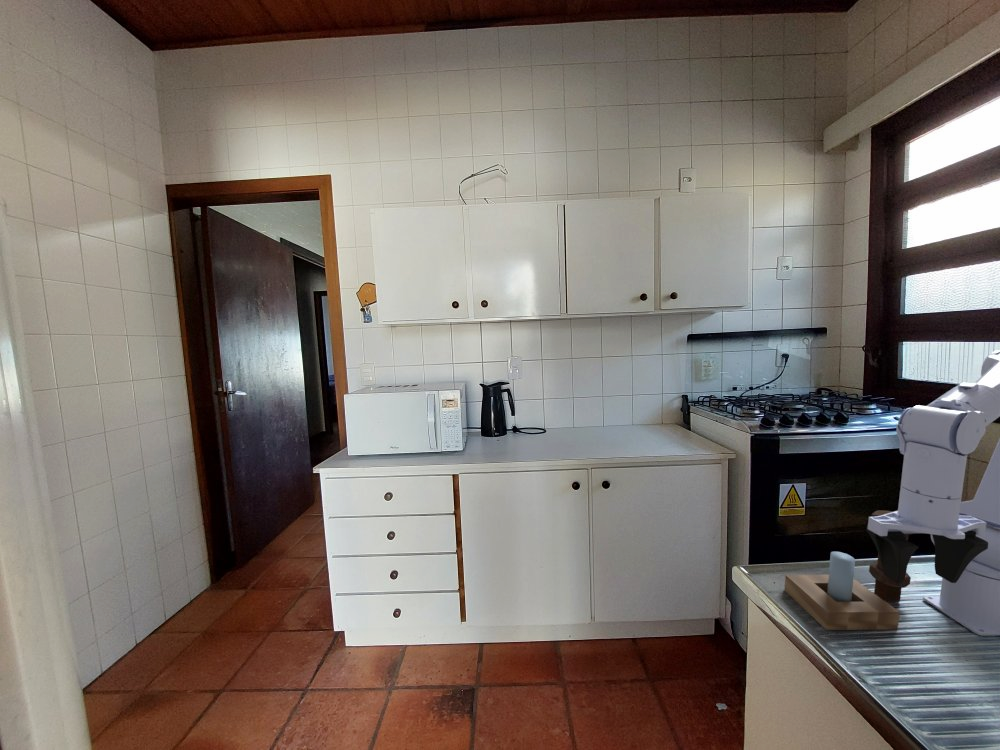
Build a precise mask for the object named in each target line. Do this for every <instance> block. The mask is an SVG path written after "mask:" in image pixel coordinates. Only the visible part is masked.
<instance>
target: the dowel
mask: <svg viewBox="0 0 1000 750" xmlns="http://www.w3.org/2000/svg"><path fill="white" fill-rule="evenodd" d="M829 556H830V557H829V558H830V559H829V568H828V575H829V578H828V590H827V594H828V595H829V596H830V597H831V598H833V599H834V600H835V601H836V602H851V599H852V588H853V579H855V578H854V575H855V567H856V566H855V565H856V559H855V558H854V557H853V556H851V555H850V554H848V553H846V552H845V553H844V552H841V551H831V552H830V555H829Z"/></svg>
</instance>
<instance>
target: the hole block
mask: <svg viewBox="0 0 1000 750" xmlns="http://www.w3.org/2000/svg"><path fill="white" fill-rule="evenodd" d="M784 578H785V579H784V589H783V591H785V593H787V594H788V595H789V596H790V597H791V598H792V599H793V600H794V601H795V602H796V603H798V605H799V606H800V607H802V609H804V610H805V611H806V612H807V613H808V614H809V615H810V616H811V617H812V618H814V620H815V621H817V623H819V625H821V627H823V628H824V629H825V630H828V631H830V630H831V631H832V630H834V631H835V630H838V631H839V630H840V631H843V630H847V631H848V630H853V631H854V630H898V629H899V627H898V626H899V623H900V621H899V619H900V610H898V609H896V608H895V607H894V606H892V605H890V604H889V602H886V601H884V600H882V599H881V598H880V597H878V596H877V595H876V594H874V591H871V590H870V589H869V588H867V587H866V586H865V585H863V584H862V583H860V582H859V581H858V580H856V579H855V578H853V588H852V599H851V602H836V601H835V600H834V599H833V598H831V597H830V596H829V595H828V594H827V590H828V578H829V574H785V577H784Z"/></svg>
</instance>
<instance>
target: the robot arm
mask: <svg viewBox="0 0 1000 750" xmlns="http://www.w3.org/2000/svg"><path fill="white" fill-rule="evenodd" d="M999 418H1000V350H998V349H997V350H994V351H992V352H991V353H990V354H988V355H987V356H986V357H985V358H984V361H982V366H981V371H980V377H979V378H978V379H977V380H976V381H975V382H971V383H970V382H961V383H960V384H958V385H956V386H955V387H952V388H951V389H950V390H947V391H946V392H945V393H943V394H942V395H940V396H939V397H938V398H936V399H935V400H933V401H932V402H930V403H928V404H927V405H920V404H918V405H915V406H913V407H908V408H906V409H905V410H903V411H902V412H901V415H900V416H899V418H898V423H897V424H896V436H897V438H898V440H899V453H900V454H901V455H903V461H902V462H903V463H902V472H901V479H900V490H899V499H898V508H897V510H895V511H893V512H891V513H888V514H884V515H881V516H876V517H871V516H868V523H867V525H866V532H867V534H868V535H869V537H870V538H871V540H872V542H873V544H874V546H875V548H876V551H877V553H879V557H880V560H881V564H882V568H883V573H884V575H885V576H887V577H888V578H890V579H891V580H893V581H894V582H896V583H902V582H903V581H904V579H905V575H906V573H907V570H908V565H909V563H910V560H911V558H912V556H913V555H914V553H916V552H917V550H918V549H919V546H918V545H916V544H914V543H912V542H911V541H909V540H906V537H903V536H904V533H913V534H927V535H930V539H931V542H932V543H933V545H934V571H935V575H937V576H939V577H941V578H942V579H941V586H940V587H941V588H940V595H927V596H926V595H924V596H922V600H923V601H925V602H926V603H928V604H930V605H931V606H933V607H934V608H935V609H937V610H939V611H940V612H942V613H943V614H945V615H946V616H948V617H949V618H950V619H952V620H954V621H956V622H957V623H959V624H960V625H962V626H963V627H964V628H966V629H968V630H969V631H971V632H972V633H973V634H976V635H978V636H1000V438H999V439H998V441H997V444H996V446H995V448H994V451H993V453H992V456H991V458H990V460H989V462H988V465H987V467H986V469H985V472H984V473H983V476H982V478H981V481H980V484H979V486H978V487H977V490H976V493H975V494H974V496H973V497H974V498H973V499H972V500H966V501H962V499H963V498H962V495H963V491H964V490H963V489H964V480H965V473H966V467H967V459H968V455H969V454H971V453H973V452H974V451H975V450H976V449H977V448H978V445H979V444H980V441H981V439H982V437H983V436H985V434H986V427H988V426H989V425H990V424H992V423H993V422H994V421H996V420H997V419H999Z"/></svg>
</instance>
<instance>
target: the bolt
mask: <svg viewBox="0 0 1000 750" xmlns="http://www.w3.org/2000/svg"><path fill="white" fill-rule="evenodd" d="M891 512H894V511H891V510H879V509H878V510H876V511H874V512H872V513H871V516H870V517H876V516H881V515H884V514H888V513H891ZM910 535H914V533H904V536H903V537H906V540H907V541H909V536H910ZM877 553H878V552H877ZM868 572H869V574H870V575H871V576H872V577H873V578H874V579H875V581H874V588H873V593H874V594H876V595H877V596H878V597H880V598H881V599H882V600H884V601H885V602H887V603H892V604H894V603H899V602H900V601H901V594H902V589H903V588H906V587H908V586H909V585H911V579H912V578H911V576H910V575H909V573H908V572H906V575H905V579H904V581H903V582H902V583H896V582H894V581H893V580H891V579H890V578H888V577H887V576H885V575H884V573H883V568H882V564H881V560H880V557H879V553H878V554H877V560H876V561H875V562H872V563H871V564H870V565H869V567H868Z"/></svg>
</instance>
